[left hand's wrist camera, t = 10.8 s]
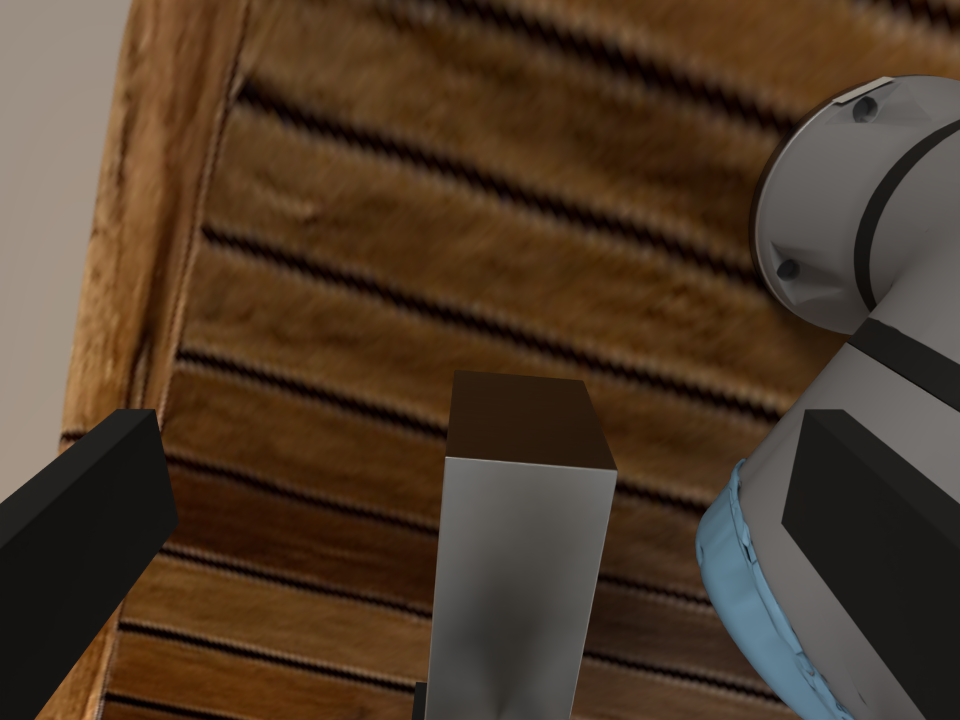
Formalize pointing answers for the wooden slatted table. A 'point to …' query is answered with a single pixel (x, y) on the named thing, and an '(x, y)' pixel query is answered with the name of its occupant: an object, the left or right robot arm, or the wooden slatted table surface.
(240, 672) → the wooden slatted table surface
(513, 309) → the wooden slatted table surface
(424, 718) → the right robot arm
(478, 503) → the bar
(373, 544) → the wooden slatted table surface
